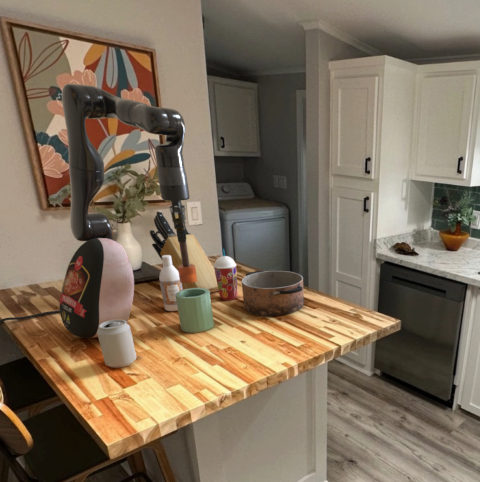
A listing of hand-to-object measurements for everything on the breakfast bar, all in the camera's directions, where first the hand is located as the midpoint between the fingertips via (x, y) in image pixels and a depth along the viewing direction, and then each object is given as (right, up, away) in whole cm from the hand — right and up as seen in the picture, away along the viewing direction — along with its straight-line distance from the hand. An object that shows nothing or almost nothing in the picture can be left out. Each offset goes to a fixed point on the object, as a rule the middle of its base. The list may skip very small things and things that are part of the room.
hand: (182, 240), depth 126 cm
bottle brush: (0, -12, +5) cm, 13 cm away
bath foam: (-16, -21, +26) cm, 37 cm away
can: (-10, -36, -13) cm, 40 cm away
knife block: (-22, -11, +49) cm, 55 cm away
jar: (-1, -27, +11) cm, 29 cm away
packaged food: (-27, -29, +5) cm, 40 cm away
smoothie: (0, -17, +38) cm, 41 cm away
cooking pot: (+20, -20, +32) cm, 42 cm away
